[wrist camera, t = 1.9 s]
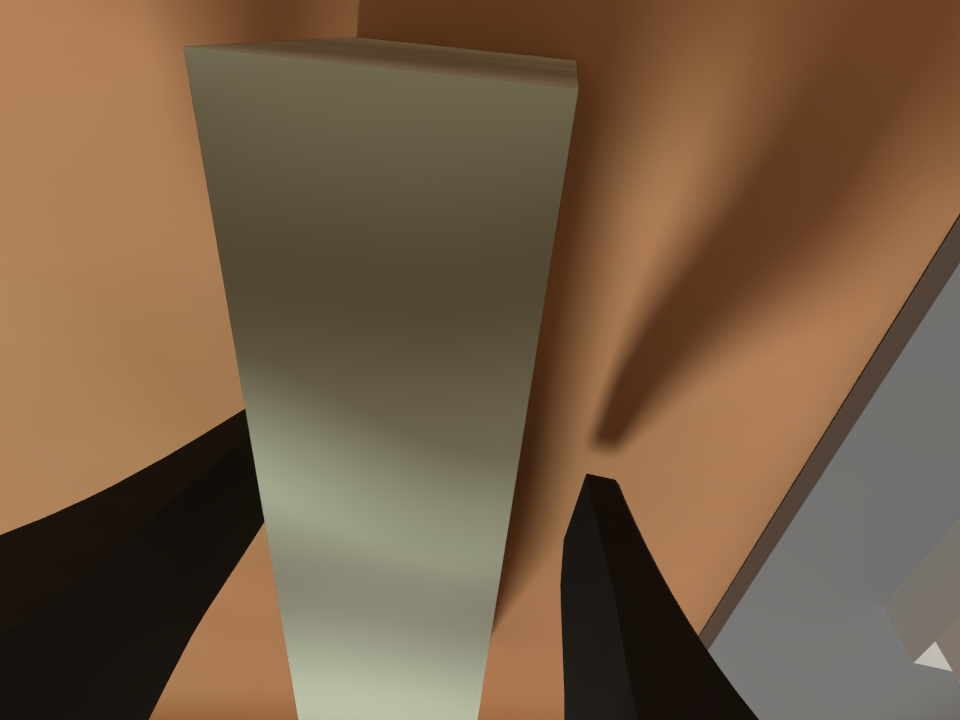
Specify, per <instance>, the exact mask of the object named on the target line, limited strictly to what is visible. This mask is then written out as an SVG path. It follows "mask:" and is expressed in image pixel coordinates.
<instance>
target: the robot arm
mask: <svg viewBox="0 0 960 720" xmlns="http://www.w3.org/2000/svg"><path fill="white" fill-rule="evenodd" d="M263 523H264V515H263V509H262V503H261V497H260V491H259V486H258V480H257V474H256V468H255V462H254V456H253V451H252V445H251V439H250V433H249V427H248V421H247V416H246V410H245V409H244V410H242V411H241V412H239V413H237V414H236V415H234V416H233V417H231V418H229V419H228V420H226V421H224V422H223V423H221V424H220V425H218V426H216V427H215V428H213V429H212V430H210V431H208V432H207V433H205V434H203V435H202V436H200V437H198V438H197V439H195V440H193V441H192V442H190V443H188V444H187V445H185V446H183V447H182V448H180V449H178V450H177V451H175V452H173V453H172V454H170V455H168V456H166V457H165V458H163V459H161V460H159V461H157V462H156V463H154V464H152V465H150V466H148V467H146V468H145V469H143V470H141V471H139V472H137V473H135V474H134V475H132V476H130V477H128V478H126V479H124V480H122V481H121V482H119V483H117V484H115V485H113V486H111V487H109V488H107V489H105V490H103V491H101V492H99V493H97V494H95V495H93V496H91V497H89V498H87V499H85V500H83V501H80V502H78V503H76V504H74V505H71V506H69V507H67V508H65V509H63V510H60V511H58V512H56V513H54V514H52V515H49V516H47V517H45V518H42V519H40V520H37V521H35V522H32V523H30V524H27V525H25V526H22V527H20V528H17V529H15V530H12V531H9V532H7V533H4V534H2V535H0V720H149V718H150V716H151V714H152V712H153V710H154V708H155V706H156V704H157V702H158V700H159V698H160V696H161V694H162V692H163V690H164V688H165V686H166V684H167V682H168V680H169V678H170V676H171V674H172V672H173V670H174V669H175V667H176V665H177V663H178V661H179V659H180V657H181V655H182V653H183V651H184V649H185V648H186V646H187V644H188V642H189V640H190V638H191V636H192V634H193V633H194V631H195V629H196V628H197V626H198V624H199V623H200V621H201V619H202V618H203V616H204V614H205V613H206V611H207V610H208V608H209V606H210V605H211V603H212V602H213V600H214V599H215V597H216V596H217V594H218V593H219V591H220V590H221V588H222V587H223V585H224V584H225V582H226V580H227V579H228V577H229V576H230V574H231V573H232V571H233V570H234V568H235V567H236V565H237V564H238V562H239V561H240V559H241V557H242V556H243V554H244V553H245V551H246V550H247V548H248V547H249V545H250V544H251V542H252V540H253V539H254V537H255V536H256V534H257V533H258V531H259V529H260V528H261V526H262V525H263ZM560 587H561V618H562V644H563V669H564V720H759V719H758V718H757V716H756V715H755V714H754V713H753V711H752V710H751V709H750V708H749V706H748V705H747V704H746V703H745V701H744V700H743V699H742V698H741V696H740V695H739V694H738V692H737V691H736V690H735V688H734V687H733V686H732V684H731V683H730V681H729V680H728V679H727V677H726V676H725V675H724V673H723V672H722V670H721V669H720V668H719V666H718V665H717V663H716V662H715V660H714V659H713V658H712V656H711V655H710V653H709V652H708V650H707V649H706V647H705V646H704V644H703V643H702V641H701V640H700V638H699V637H698V635H697V634H696V632H695V631H694V629H693V627H692V626H691V624H690V623H689V621H688V619H687V618H686V616H685V615H684V613H683V611H682V609H681V608H680V606H679V604H678V603H677V601H676V599H675V598H674V596H673V594H672V593H671V591H670V589H669V587H668V585H667V584H666V582H665V580H664V578H663V576H662V574H661V573H660V571H659V569H658V567H657V565H656V563H655V561H654V559H653V557H652V555H651V553H650V552H649V550H648V548H647V546H646V544H645V542H644V540H643V538H642V535H641V533H640V531H639V529H638V527H637V525H636V523H635V521H634V518H633V516H632V514H631V512H630V510H629V507H628V505H627V503H626V500H625V498H624V496H623V493H622V491H621V489H620V486H619V484H618V483H617V481H616V480H614V479H609V478H605V477H600V476H595V475H590V474H586V476H585V479H584V482H583V485H582V488H581V491H580V494H579V497H578V500H577V503H576V506H575V509H574V512H573V515H572V517H571V520H570V523H569V526H568V529H567V532H566V535H565V538H564V545H563V558H562V571H561V585H560Z"/></svg>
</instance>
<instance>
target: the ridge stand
mask: <svg viewBox="0 0 960 720" xmlns="http://www.w3.org/2000/svg"><path fill="white" fill-rule="evenodd" d="M699 638H700V640H701V641H702V643H703V644H704V646H705V647H706V649H707V650H708V652H709V653H710V655H711V656H712V658H713V659H714V660H715V662H716V663H717V665H718V666H719V668H720V669H721V670H722V672H723V673H724V675H725V676H726V677H727V679H728V680H729V681H730V683H731V684H732V686H733V687H734V688H735V690H736V691H737V692H738V694H739V695H740V696H741V698H742V699H743V700H744V701H745V703H746V704H747V705H748V706H749V708H750V709H751V710H752V711H753V713H754V714H755V715H756V716H757V718H758V719H759V720H960V217H959V219H958V220H957V222H956V223H955V225H954V227H953V228H952V230H951V231H950V233H949V235H948V236H947V238H946V240H945V241H944V243H943V244H942V246H941V248H940V249H939V251H938V252H937V254H936V256H935V257H934V259H933V260H932V262H931V264H930V265H929V267H928V269H927V270H926V272H925V273H924V275H923V277H922V278H921V280H920V281H919V283H918V285H917V286H916V288H915V289H914V291H913V293H912V294H911V296H910V298H909V299H908V301H907V302H906V304H905V306H904V307H903V309H902V310H901V312H900V314H899V315H898V317H897V319H896V320H895V322H894V323H893V325H892V327H891V328H890V330H889V331H888V333H887V335H886V336H885V338H884V339H883V341H882V343H881V344H880V346H879V348H878V349H877V351H876V352H875V354H874V356H873V357H872V359H871V360H870V362H869V364H868V365H867V367H866V369H865V370H864V372H863V373H862V375H861V377H860V378H859V380H858V381H857V383H856V385H855V386H854V388H853V389H852V391H851V393H850V394H849V396H848V398H847V399H846V401H845V402H844V404H843V406H842V407H841V409H840V410H839V412H838V414H837V415H836V417H835V418H834V420H833V422H832V423H831V425H830V427H829V428H828V430H827V431H826V433H825V435H824V436H823V438H822V439H821V441H820V443H819V444H818V446H817V448H816V449H815V451H814V452H813V454H812V456H811V457H810V459H809V460H808V462H807V464H806V465H805V467H804V468H803V470H802V472H801V473H800V475H799V477H798V478H797V480H796V481H795V483H794V485H793V486H792V488H791V489H790V491H789V493H788V494H787V496H786V498H785V499H784V501H783V502H782V504H781V506H780V507H779V509H778V510H777V512H776V514H775V515H774V517H773V518H772V520H771V522H770V523H769V525H768V527H767V528H766V530H765V531H764V533H763V535H762V536H761V538H760V539H759V541H758V543H757V544H756V546H755V547H754V549H753V551H752V552H751V554H750V556H749V557H748V559H747V560H746V562H745V564H744V565H743V567H742V568H741V570H740V572H739V573H738V575H737V577H736V578H735V580H734V581H733V583H732V585H731V586H730V588H729V589H728V591H727V593H726V594H725V596H724V597H723V599H722V601H721V602H720V604H719V606H718V607H717V609H716V610H715V612H714V614H713V615H712V617H711V618H710V620H709V622H708V623H707V625H706V626H705V628H704V630H703V631H702V633H701V635H700V636H699Z"/></svg>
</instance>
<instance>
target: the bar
mask: <svg viewBox="0 0 960 720" xmlns="http://www.w3.org/2000/svg"><path fill="white" fill-rule="evenodd" d="M183 48H184V54H185V60H186V65H187V71H188V77H189V83H190V89H191V95H192V100H193V106H194V112H195V118H196V124H197V130H198V135H199V141H200V147H201V153H202V159H203V165H204V170H205V176H206V182H207V188H208V194H209V200H210V205H211V211H212V217H213V223H214V229H215V235H216V241H217V246H218V252H219V258H220V264H221V270H222V276H223V281H224V287H225V293H226V299H227V305H228V311H229V316H230V322H231V328H232V334H233V340H234V346H235V351H236V357H237V363H238V369H239V375H240V381H241V386H242V392H243V398H244V404H245V410H246V416H247V421H248V427H249V433H250V439H251V445H252V451H253V456H254V462H255V468H256V474H257V480H258V486H259V491H260V497H261V503H262V509H263V515H264V521H265V526H266V532H267V538H268V544H269V550H270V556H271V562H272V567H273V573H274V579H275V585H276V591H277V597H278V602H279V608H280V614H281V620H282V626H283V632H284V637H285V643H286V649H287V655H288V661H289V667H290V672H291V678H292V684H293V690H294V696H295V702H296V707H297V713H298V719H299V720H477V719H478V713H479V707H480V700H481V694H482V688H483V682H484V675H485V669H486V663H487V657H488V651H489V644H490V638H491V632H492V626H493V619H494V613H495V607H496V601H497V594H498V588H499V582H500V576H501V570H502V563H503V557H504V551H505V545H506V538H507V532H508V526H509V520H510V513H511V507H512V501H513V495H514V489H515V482H516V476H517V470H518V464H519V457H520V451H521V445H522V439H523V432H524V426H525V420H526V414H527V408H528V401H529V395H530V389H531V383H532V376H533V370H534V364H535V358H536V351H537V345H538V339H539V333H540V327H541V320H542V314H543V308H544V302H545V295H546V289H547V283H548V277H549V271H550V264H551V258H552V252H553V246H554V239H555V233H556V227H557V221H558V214H559V208H560V202H561V196H562V190H563V183H564V177H565V171H566V165H567V158H568V152H569V146H570V140H571V133H572V127H573V121H574V115H575V109H576V102H577V96H578V90H579V88H578V76H577V65H576V60H572V59H563V58H553V57H543V56H534V55H524V54H514V53H505V52H495V51H486V50H476V49H466V48H457V47H447V46H437V45H428V44H418V43H409V42H399V41H389V40H380V39H370V38H360V37H349V38H330V39H312V40H293V41H275V42H256V43H238V44H219V45H200V46H183Z"/></svg>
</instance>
